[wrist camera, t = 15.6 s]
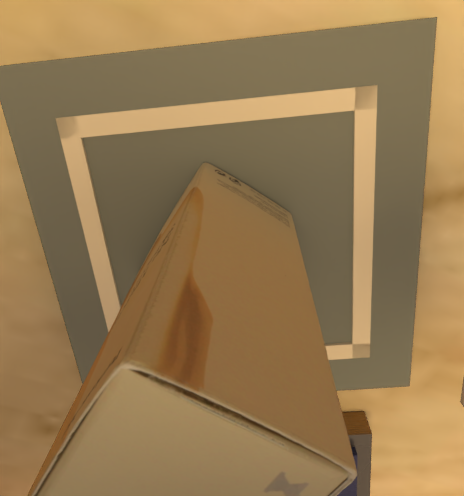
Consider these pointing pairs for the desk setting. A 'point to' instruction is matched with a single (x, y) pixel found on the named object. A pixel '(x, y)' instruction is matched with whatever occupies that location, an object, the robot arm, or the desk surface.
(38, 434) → the desk surface
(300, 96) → the marked board
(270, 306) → the skincare box
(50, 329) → the desk surface
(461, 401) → the robot arm
